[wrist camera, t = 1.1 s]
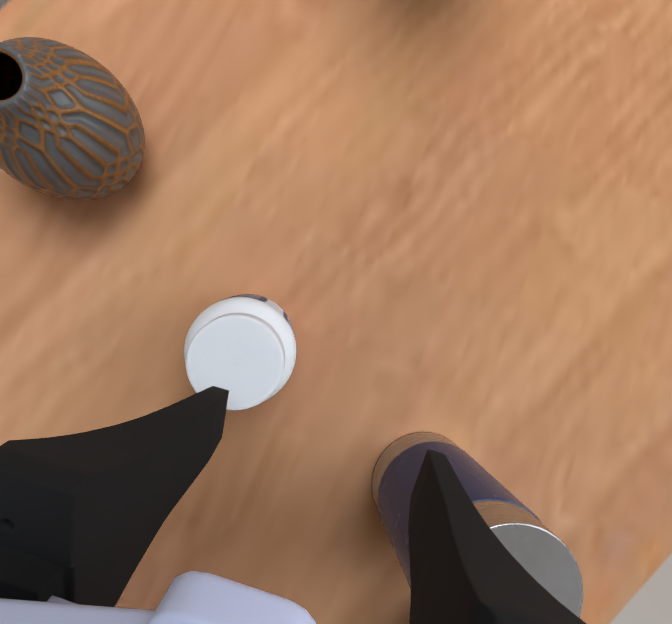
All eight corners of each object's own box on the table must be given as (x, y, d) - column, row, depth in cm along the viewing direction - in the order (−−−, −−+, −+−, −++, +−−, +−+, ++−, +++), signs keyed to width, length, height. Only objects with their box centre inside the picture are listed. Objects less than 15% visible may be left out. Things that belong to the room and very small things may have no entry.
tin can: (377, 539, 28) (437, 700, 17) (364, 440, 28) (417, 540, 17) (475, 519, 29) (592, 661, 18) (464, 422, 28) (577, 507, 17)
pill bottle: (187, 344, 26) (138, 374, 17) (242, 276, 26) (221, 271, 17) (258, 396, 27) (246, 450, 18) (310, 330, 27) (324, 351, 18)
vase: (4, 147, 24) (-154, 68, 15) (92, 61, 24) (-14, -64, 16) (100, 235, 25) (1, 207, 16) (184, 151, 25) (132, 80, 17)
